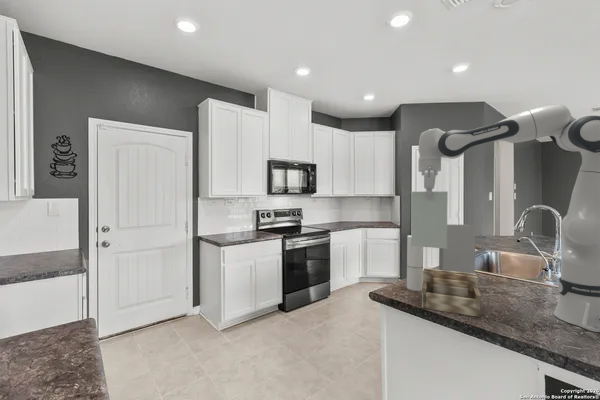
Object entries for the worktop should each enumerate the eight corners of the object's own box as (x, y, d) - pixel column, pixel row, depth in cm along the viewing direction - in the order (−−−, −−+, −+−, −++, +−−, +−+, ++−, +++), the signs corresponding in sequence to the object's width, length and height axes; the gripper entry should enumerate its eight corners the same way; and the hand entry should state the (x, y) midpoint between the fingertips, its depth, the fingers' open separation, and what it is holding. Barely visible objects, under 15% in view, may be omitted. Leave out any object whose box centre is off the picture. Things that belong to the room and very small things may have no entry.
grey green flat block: (446, 247, 120) (447, 191, 119) (446, 248, 118) (447, 191, 117) (411, 245, 126) (412, 191, 125) (411, 245, 124) (411, 191, 123)
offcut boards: (465, 306, 113) (466, 274, 113) (467, 312, 108) (468, 279, 107) (433, 301, 118) (433, 271, 118) (432, 307, 113) (433, 275, 112)
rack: (475, 302, 118) (475, 273, 117) (480, 317, 104) (481, 285, 103) (423, 294, 126) (423, 268, 126) (421, 307, 112) (422, 277, 112)
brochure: (468, 285, 138) (469, 224, 137) (474, 289, 133) (475, 226, 132) (438, 284, 140) (439, 224, 139) (443, 288, 134) (444, 225, 133)
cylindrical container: (421, 286, 137) (422, 235, 136) (424, 291, 130) (424, 238, 129) (406, 285, 139) (406, 235, 138) (407, 290, 132) (408, 237, 131)
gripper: (437, 165, 110) (437, 200, 110) (437, 168, 128) (437, 198, 129) (420, 165, 113) (420, 200, 113) (422, 169, 131) (422, 198, 132)
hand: (429, 199), depth 121 cm, fingers closed on grey green flat block, 2 cm apart
